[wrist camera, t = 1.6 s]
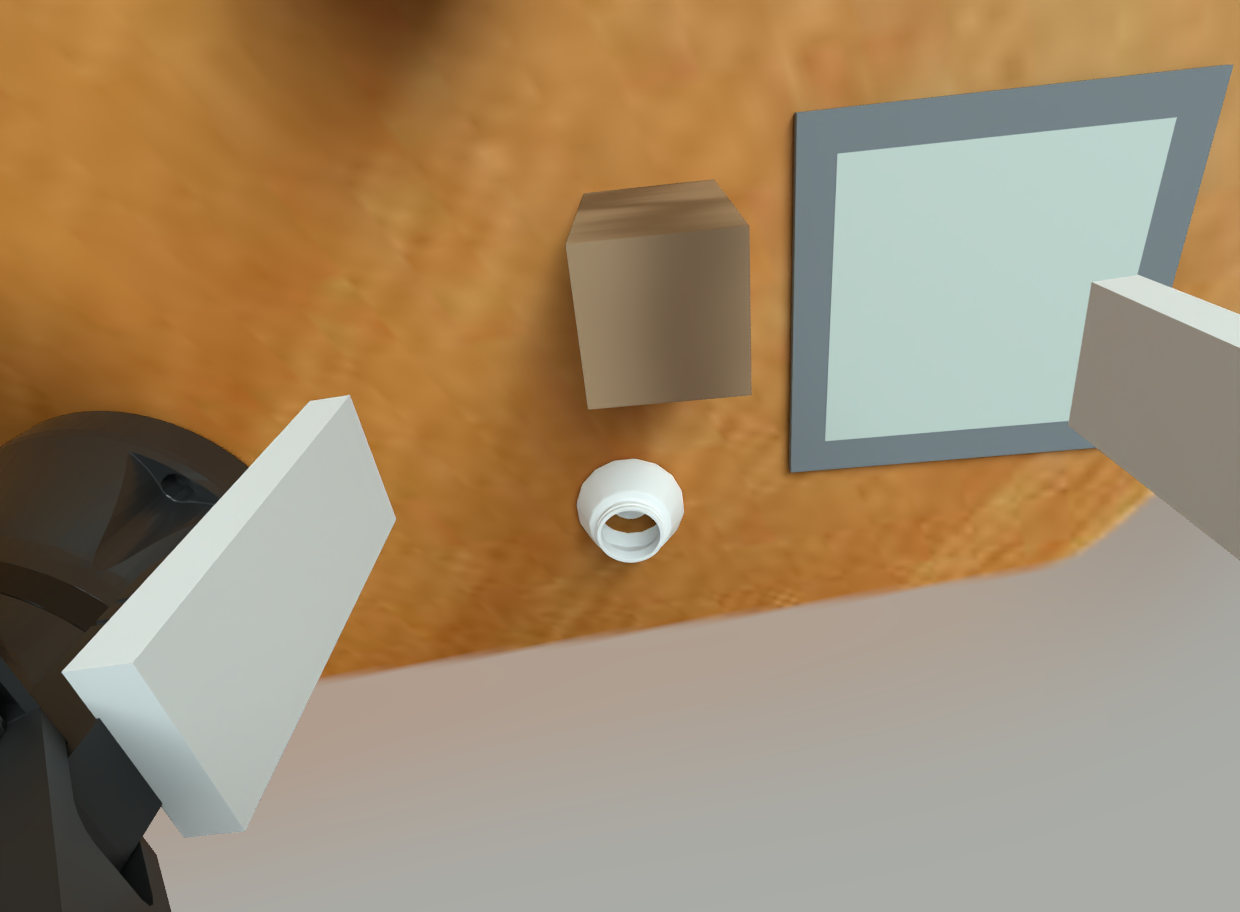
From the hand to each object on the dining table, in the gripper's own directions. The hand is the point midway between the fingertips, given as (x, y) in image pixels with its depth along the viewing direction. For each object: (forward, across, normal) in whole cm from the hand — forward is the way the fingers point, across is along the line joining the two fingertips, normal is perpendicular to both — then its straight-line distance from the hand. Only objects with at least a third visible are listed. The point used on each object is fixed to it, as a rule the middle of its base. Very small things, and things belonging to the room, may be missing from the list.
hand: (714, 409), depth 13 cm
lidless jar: (+17, -3, -12) cm, 22 cm away
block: (+17, 0, -1) cm, 17 cm away
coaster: (+17, +12, -5) cm, 21 cm away
